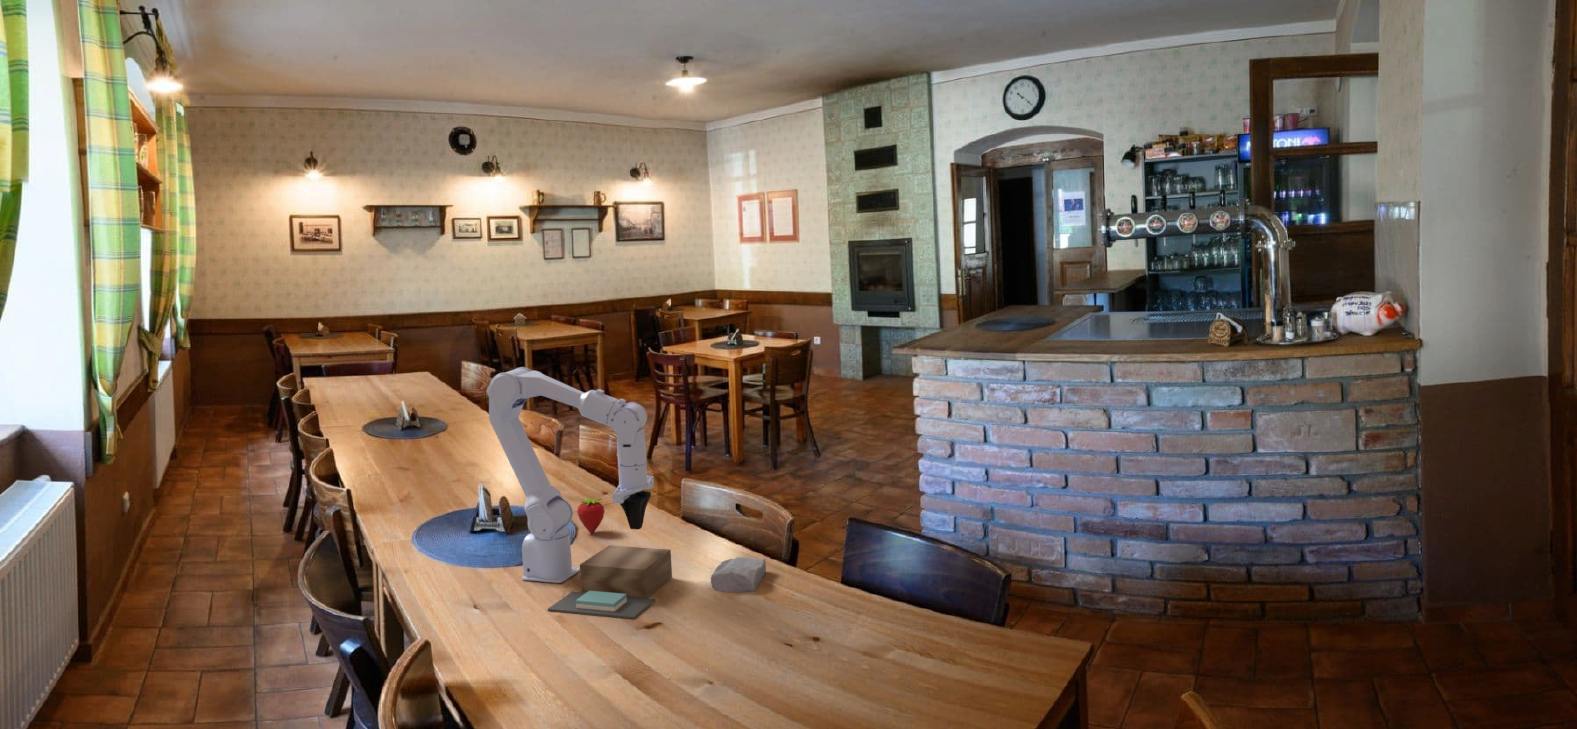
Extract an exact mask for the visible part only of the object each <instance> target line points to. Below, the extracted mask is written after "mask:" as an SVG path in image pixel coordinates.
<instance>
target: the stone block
mask: <svg viewBox="0 0 1577 729" xmlns="http://www.w3.org/2000/svg"><path fill="white" fill-rule="evenodd" d="M766 572H767V564H766V558H756V557H750V556H738V557H735V558H729V559H725V560H723V561H721V562H720V564H719V565H717V566H716V568H715V569H714V571H713V572H712V574H711V576H710V584H711V586H712V588H713V590H714V591H715V592H716V591H717V592H751V591H752V592H754V590H755V591H756V589H757V588H758V586H759V584H760V583H759V582H761V581H762V579H763V578H762V577H764V576H765V575H766ZM752 592H751V593H752Z"/></svg>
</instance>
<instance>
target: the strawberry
mask: <svg viewBox="0 0 1577 729" xmlns="http://www.w3.org/2000/svg"><path fill="white" fill-rule="evenodd" d="M593 493H594V492H592V493H591V496H590V498H582V501H579V503H580V504H579V505H578V506H577V511H576V512H577V516H578V519H579V520H580V522H581V524H582V525H583V527H584V528H585V529H586V530H587V532H588V533H590V534H594V533H595V532H596V530H597V528H598V527H599V526H600V525H601V523H602V521H603V519H604V516H605V507H604V506H603V505H602V501H601V500H602V498H593V499H592V496H593Z"/></svg>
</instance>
